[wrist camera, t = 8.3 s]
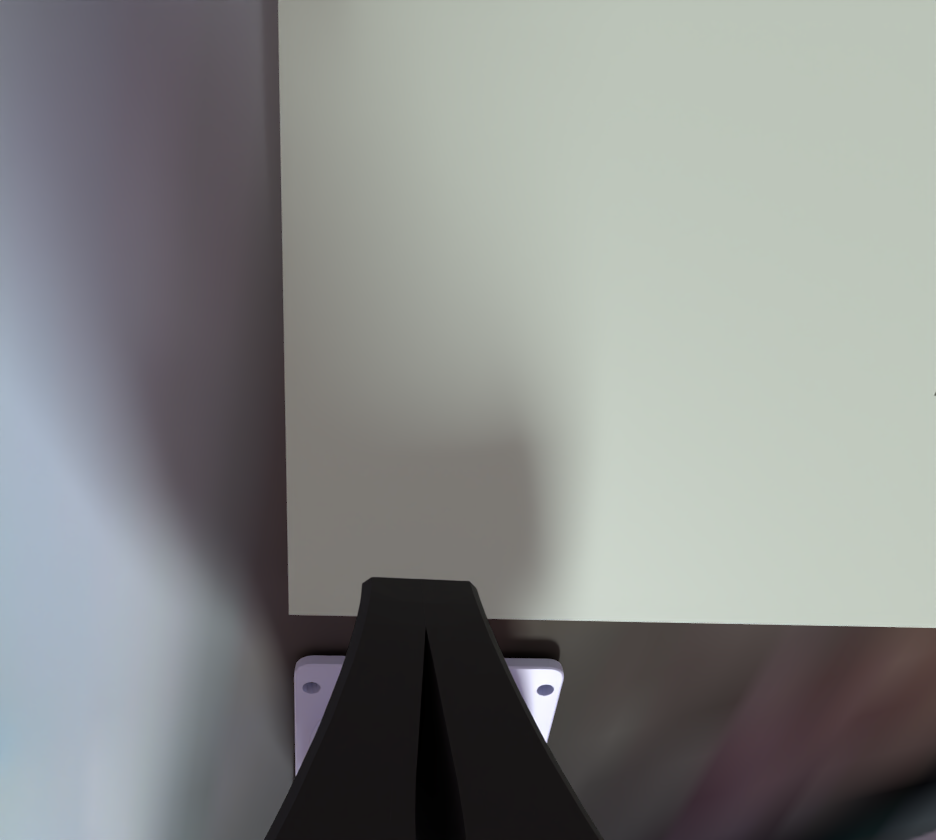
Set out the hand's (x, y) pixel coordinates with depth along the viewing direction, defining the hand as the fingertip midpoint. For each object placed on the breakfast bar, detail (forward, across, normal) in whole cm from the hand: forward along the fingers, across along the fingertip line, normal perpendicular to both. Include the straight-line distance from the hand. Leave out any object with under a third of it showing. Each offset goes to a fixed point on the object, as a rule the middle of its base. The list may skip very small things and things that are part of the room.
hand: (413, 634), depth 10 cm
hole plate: (+9, -10, 0) cm, 13 cm away
